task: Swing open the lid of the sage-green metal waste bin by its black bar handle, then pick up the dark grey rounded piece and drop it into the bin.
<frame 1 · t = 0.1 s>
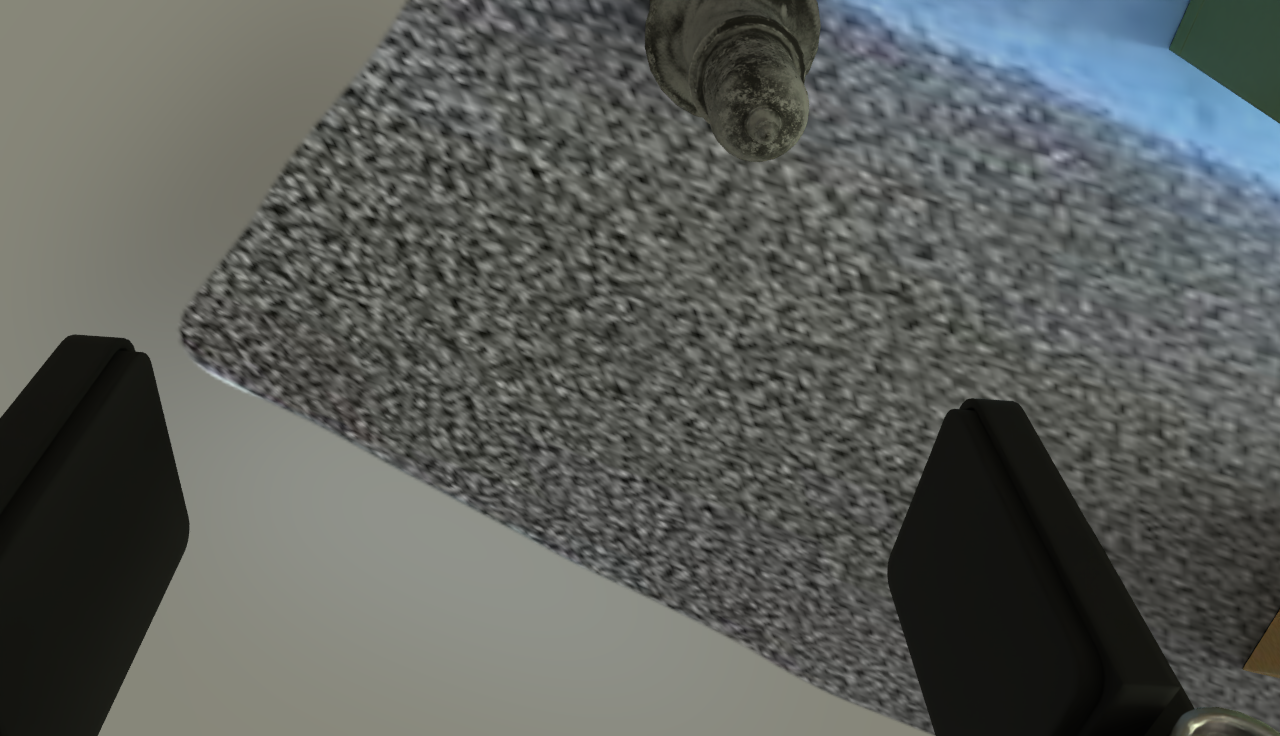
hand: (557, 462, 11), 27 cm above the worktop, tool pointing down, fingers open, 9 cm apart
dark grey rounded piece: (721, 5, 34), on the worktop
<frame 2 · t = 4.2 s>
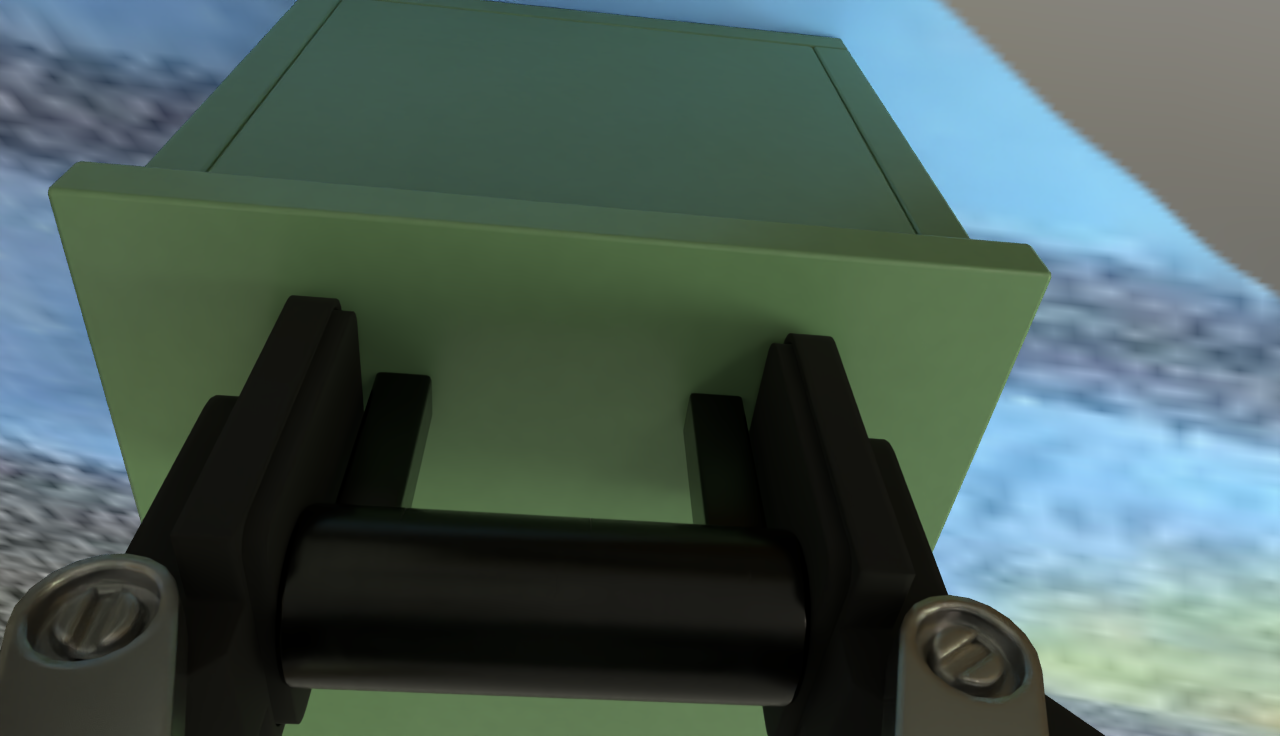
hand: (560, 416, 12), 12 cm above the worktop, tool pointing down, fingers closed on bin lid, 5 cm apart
waste bin: (563, 276, 25), on the worktop
bin lid: (536, 727, 14), point 13 cm above the worktop, hinge at 0.0°, touching gripper
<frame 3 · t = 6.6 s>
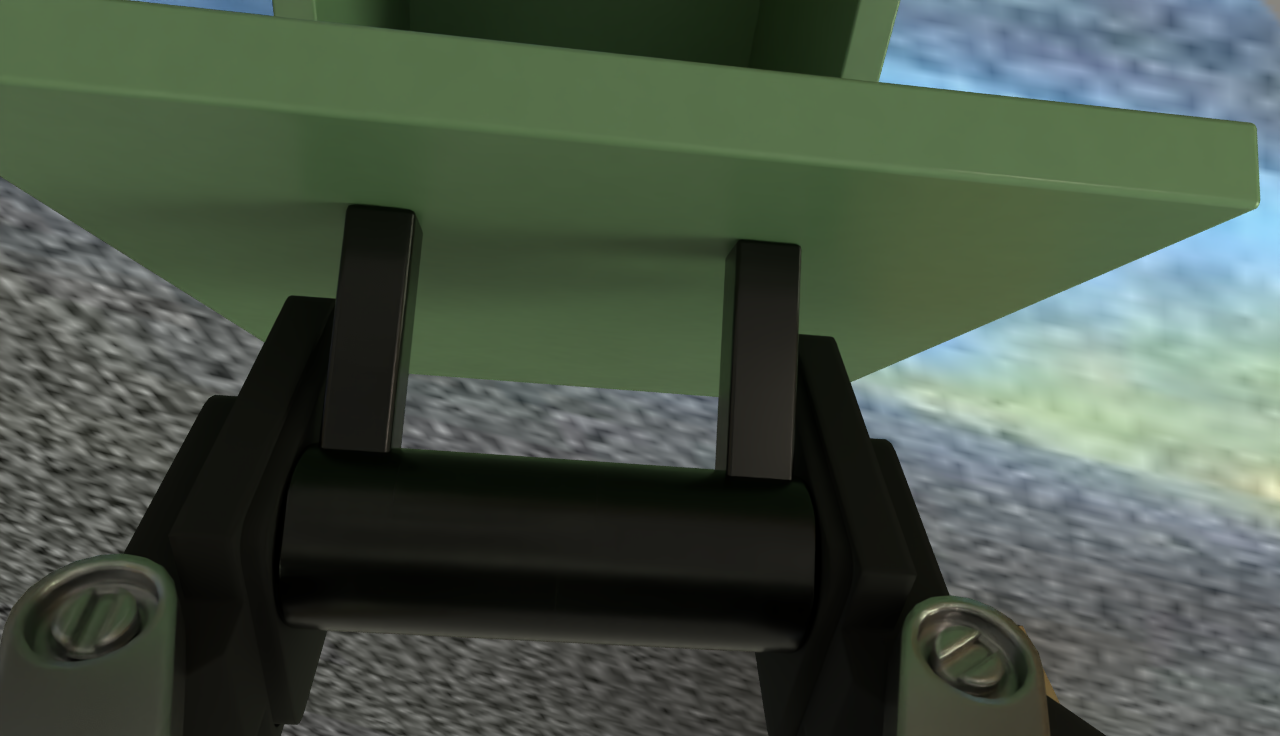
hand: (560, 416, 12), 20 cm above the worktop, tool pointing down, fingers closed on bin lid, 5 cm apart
bin lid: (557, 431, 14), point 18 cm above the worktop, hinge at 45.3°, touching gripper
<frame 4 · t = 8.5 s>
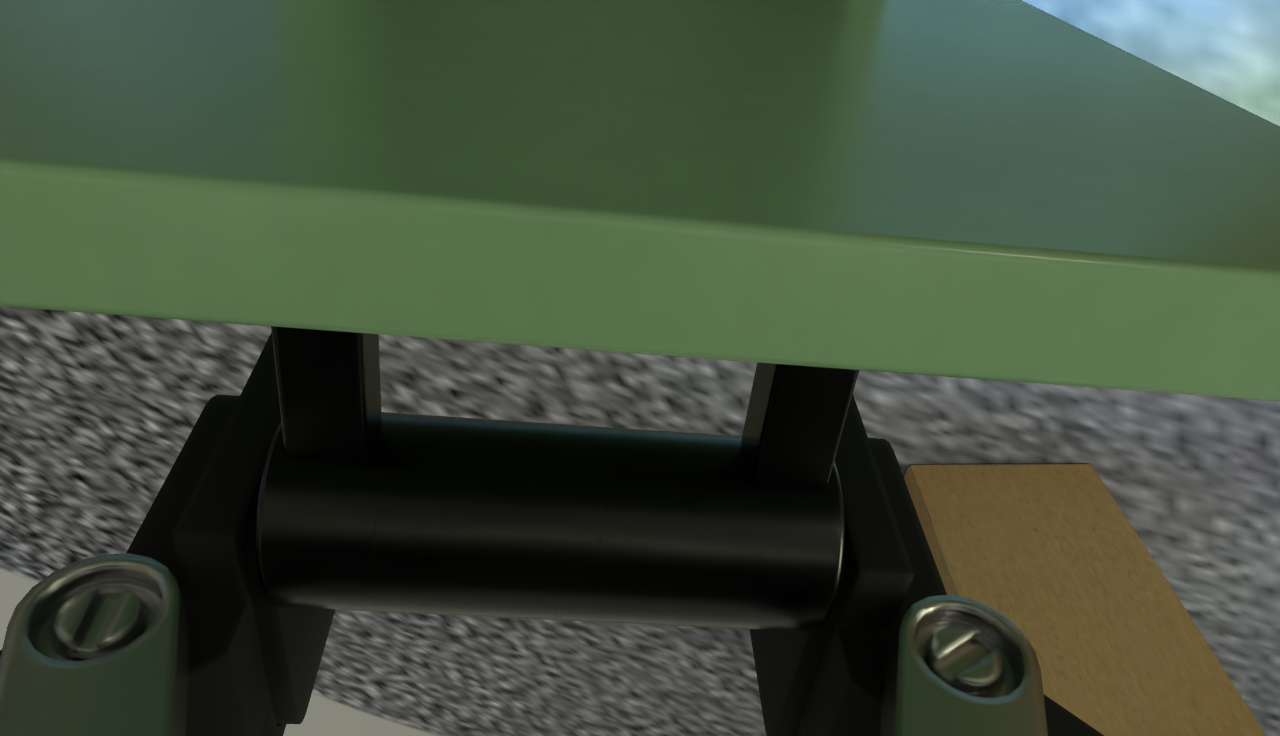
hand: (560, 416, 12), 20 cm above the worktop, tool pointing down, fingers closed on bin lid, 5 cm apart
sandwich container: (958, 579, 45), on the worktop
bin lid: (577, 180, 12), point 19 cm above the worktop, hinge at 85.2°, touching gripper
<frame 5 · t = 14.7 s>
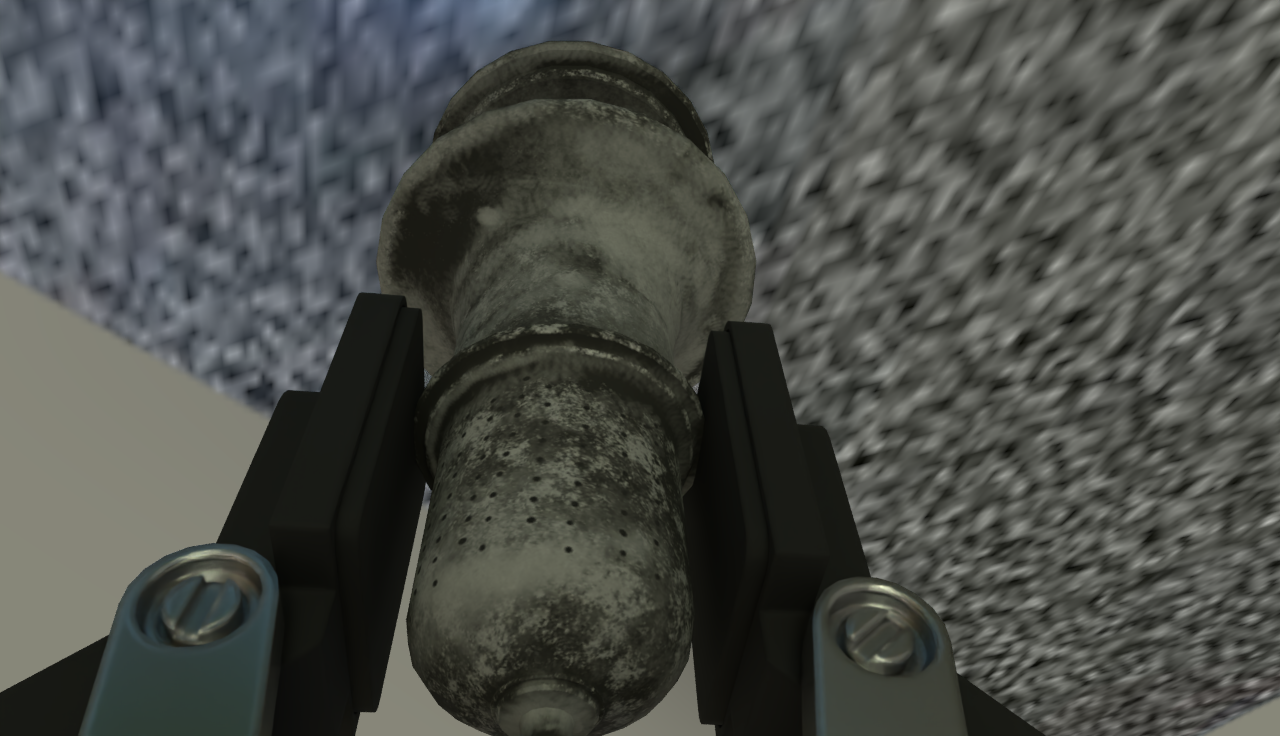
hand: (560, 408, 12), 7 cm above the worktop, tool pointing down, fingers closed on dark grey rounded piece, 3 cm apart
dark grey rounded piece: (573, 178, 18), on the worktop, touching gripper
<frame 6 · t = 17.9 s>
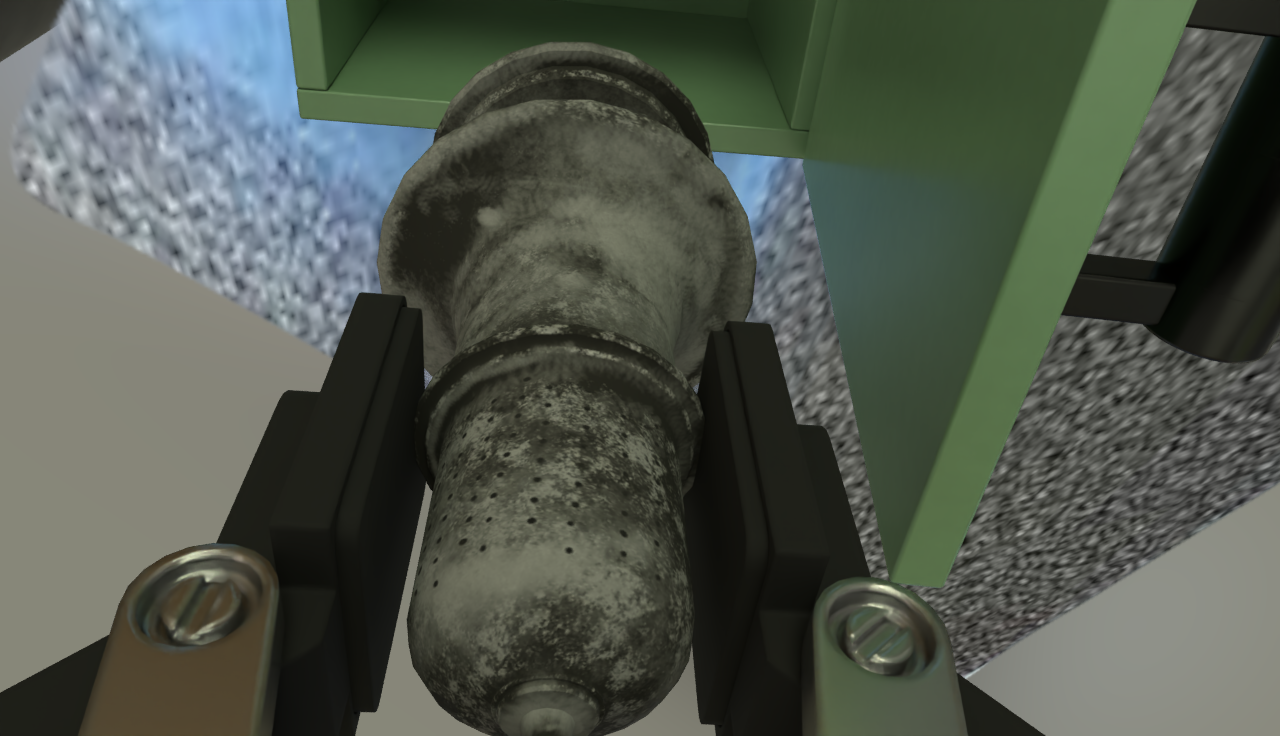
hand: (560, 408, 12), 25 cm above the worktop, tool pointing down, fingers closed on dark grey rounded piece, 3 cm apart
dark grey rounded piece: (574, 179, 18), point 18 cm above the worktop, touching gripper
bin lid: (1052, 41, 16), point 19 cm above the worktop, hinge at 85.6°
when the fingers open (15 cm above the worktop, at t = 21.1 s): dark grey rounded piece drops 7 cm, resting on waste bin.
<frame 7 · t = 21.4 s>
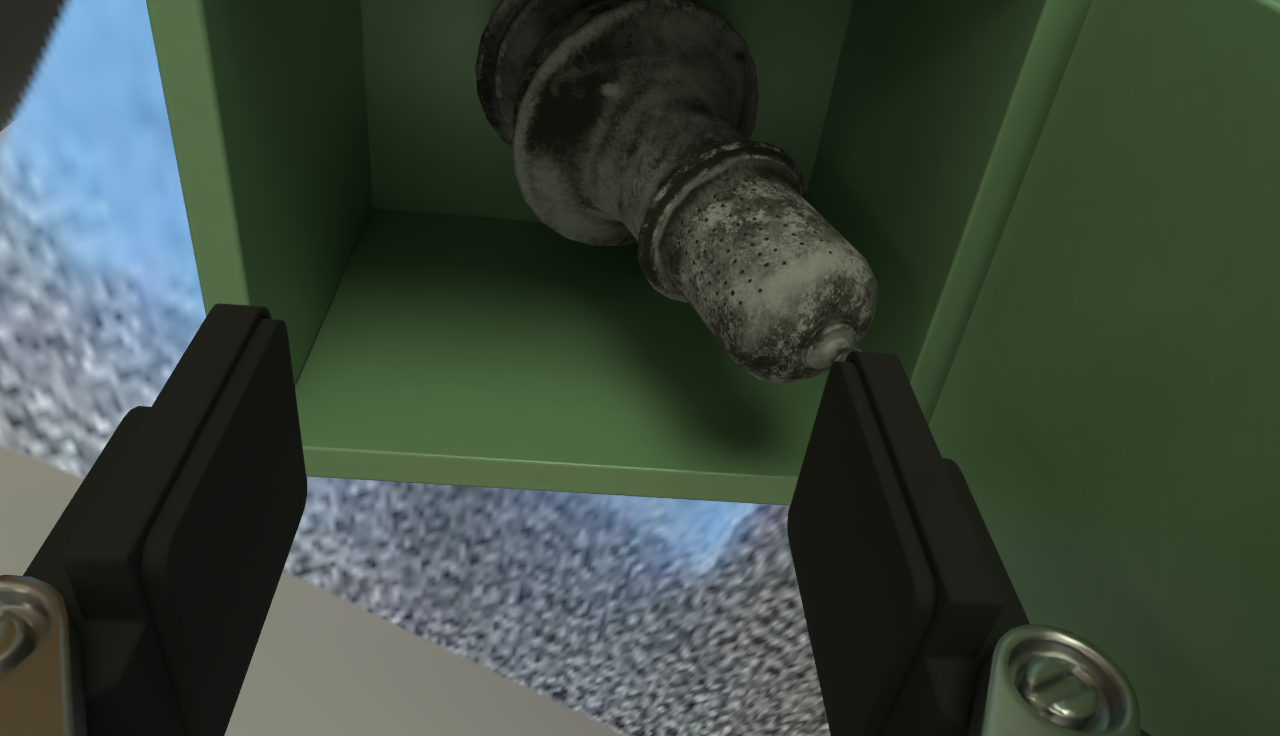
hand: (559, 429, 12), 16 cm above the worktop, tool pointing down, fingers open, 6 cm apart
waste bin: (604, 40, 24), on the worktop
dark grey rounded piece: (577, 61, 23), point 2 cm above the worktop, touching waste bin
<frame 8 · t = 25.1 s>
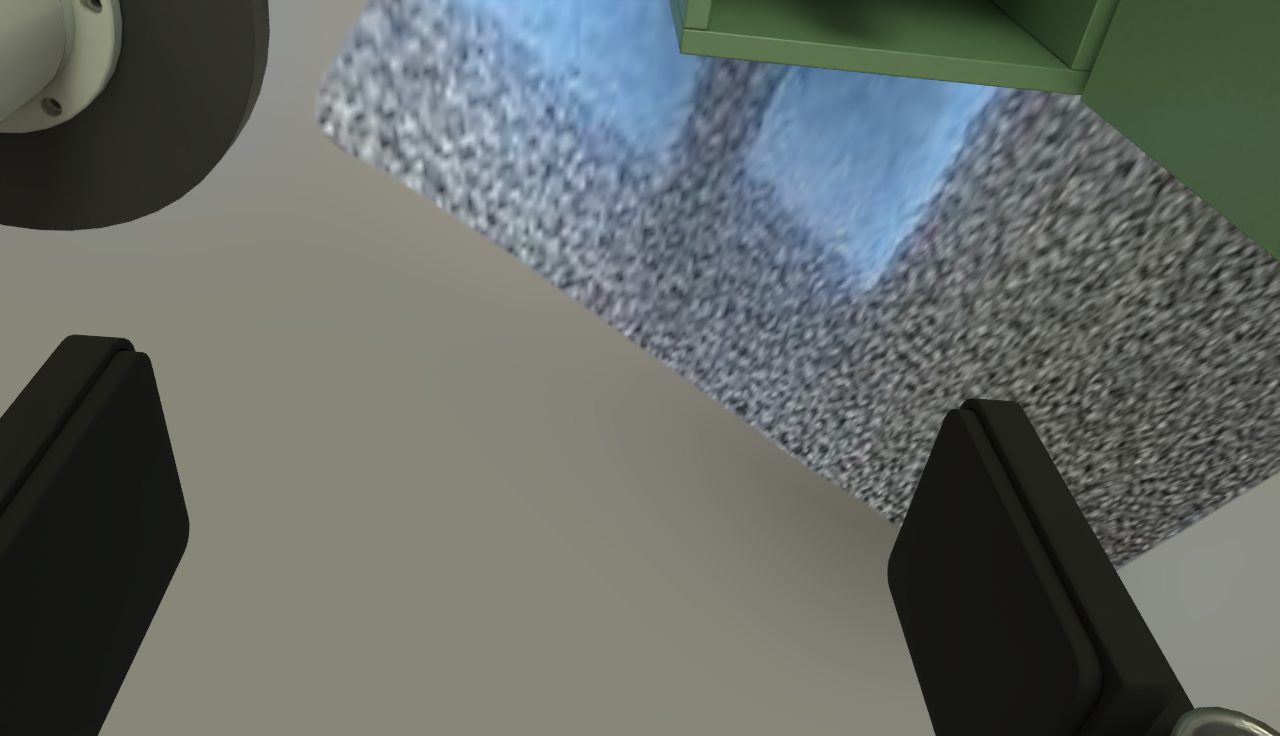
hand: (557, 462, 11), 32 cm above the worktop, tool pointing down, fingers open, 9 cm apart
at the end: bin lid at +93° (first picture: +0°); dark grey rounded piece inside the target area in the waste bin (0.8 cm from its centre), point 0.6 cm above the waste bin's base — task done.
